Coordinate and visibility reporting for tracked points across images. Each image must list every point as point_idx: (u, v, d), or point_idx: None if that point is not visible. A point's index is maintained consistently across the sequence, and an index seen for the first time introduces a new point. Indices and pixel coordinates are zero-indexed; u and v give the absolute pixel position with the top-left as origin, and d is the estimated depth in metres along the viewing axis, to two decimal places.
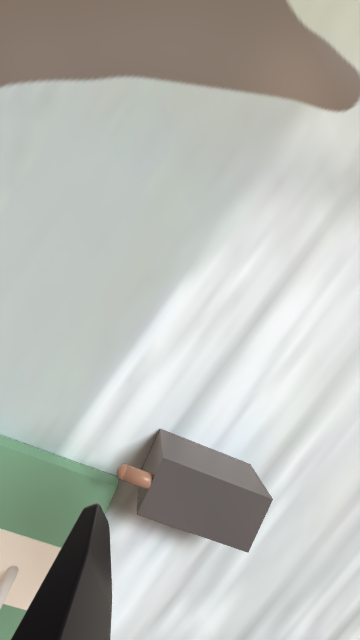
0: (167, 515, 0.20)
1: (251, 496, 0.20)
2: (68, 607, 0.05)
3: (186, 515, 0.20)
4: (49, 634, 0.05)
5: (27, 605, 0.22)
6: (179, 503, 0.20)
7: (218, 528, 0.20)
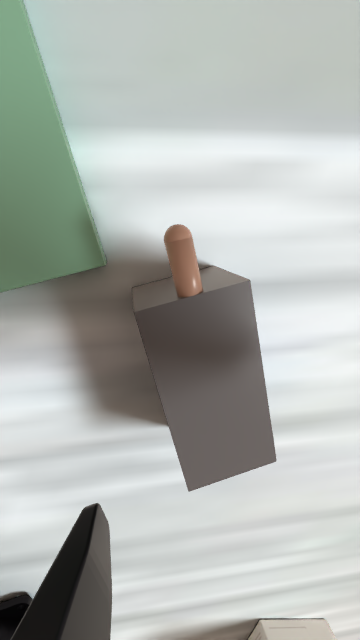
0: (165, 357, 0.11)
1: (265, 436, 0.13)
2: (68, 607, 0.05)
3: (184, 382, 0.11)
4: (49, 634, 0.05)
5: None
6: (195, 359, 0.11)
7: (194, 435, 0.12)
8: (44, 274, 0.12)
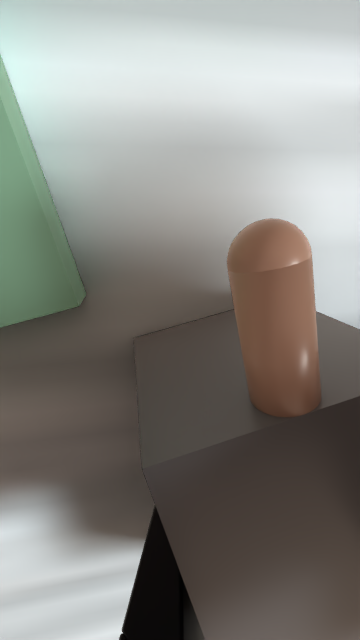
0: (219, 555, 0.04)
1: None
2: None
3: (258, 594, 0.05)
4: (170, 588, 0.05)
5: None
6: (289, 548, 0.04)
7: None
8: None
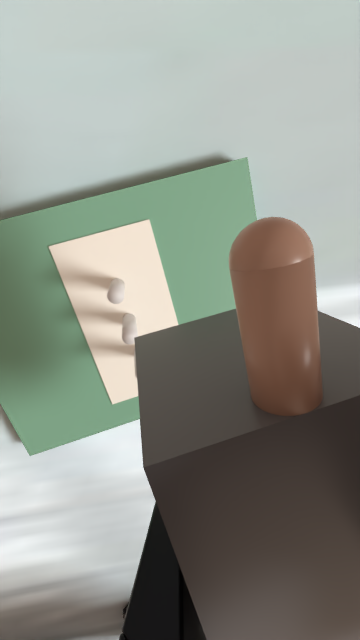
0: (220, 554, 0.04)
1: None
2: None
3: (260, 593, 0.05)
4: (170, 588, 0.05)
5: (114, 392, 0.18)
6: (290, 547, 0.04)
7: None
8: None
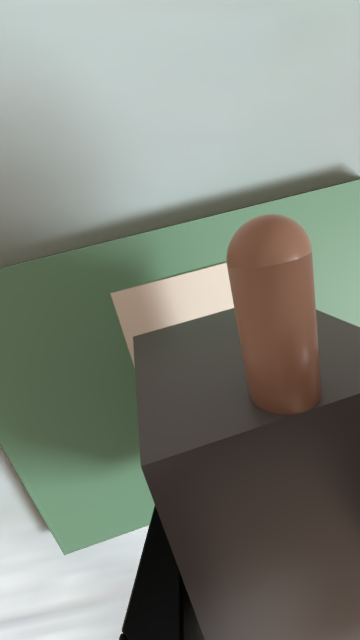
0: (218, 554, 0.04)
1: None
2: None
3: (258, 593, 0.05)
4: (170, 588, 0.05)
5: None
6: (289, 546, 0.04)
7: None
8: None
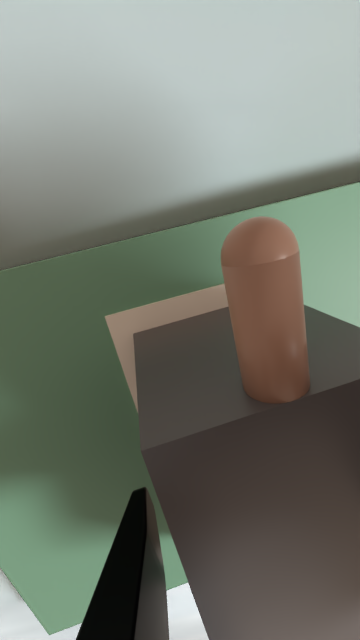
0: (214, 536, 0.04)
1: None
2: (139, 580, 0.05)
3: (252, 574, 0.05)
4: (125, 605, 0.05)
5: None
6: (281, 530, 0.05)
7: None
8: None
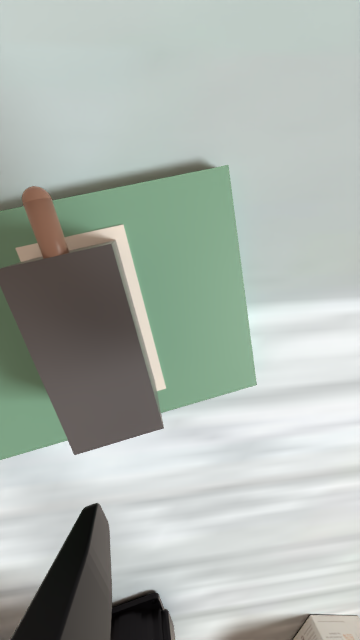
0: (32, 317, 0.11)
1: (148, 402, 0.13)
2: (68, 607, 0.05)
3: (55, 344, 0.11)
4: (49, 634, 0.05)
5: None
6: (64, 320, 0.11)
7: (73, 398, 0.12)
8: (221, 392, 0.19)
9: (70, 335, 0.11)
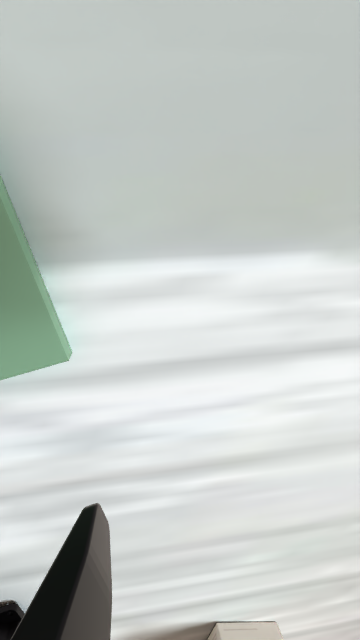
0: None
1: None
2: (68, 607, 0.05)
3: None
4: (49, 634, 0.05)
5: None
6: None
7: None
8: (23, 369, 0.16)
9: None
